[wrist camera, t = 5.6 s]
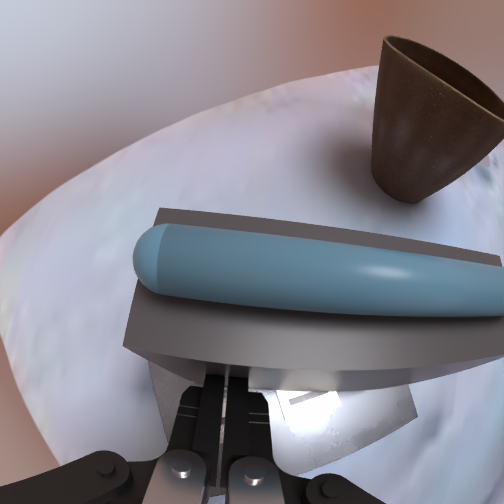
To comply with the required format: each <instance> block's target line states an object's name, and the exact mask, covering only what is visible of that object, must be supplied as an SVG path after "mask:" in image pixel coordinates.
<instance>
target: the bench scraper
mask: <svg viewBox="0 0 504 504" xmlns="http://www.w3.org/2000/svg"><path fill="white" fill-rule="evenodd" d="M133 266H134V270H135V273H136V275H137V277H138V281H137V285H136V289H135V293H134V297H133V301H132V305H131V309H130V314H129V318H128V323H127V327H126V332H125V337H124V342H123V346H124V347H125V348H127V349H129V350H131V351H132V352H134V353H136V354H138V355H140V356H141V357H143V358H145V359H147V360H149V361H151V362H152V363H154V364H156V365H158V366H160V367H162V368H164V369H166V370H168V371H170V372H172V373H174V374H176V375H178V376H180V377H182V378H184V379H187V380H189V381H194V382H200V383H204V380H205V375H206V374H210V375H219V376H225V386H228V378H229V377H238V378H248V388H253V389H266V390H284V391H359V390H376V389H384V388H390V387H396V386H401V385H406V384H411V383H416V382H420V381H425V380H429V379H433V378H437V377H441V376H445V375H449V374H453V373H456V372H460V371H463V370H466V369H470V368H473V367H476V366H479V365H482V364H485V363H488V362H491V361H494V360H497V359H499V358H502V357H504V267H502V263H501V260H500V256H497V255H493V254H488V253H483V252H478V251H473V250H467V249H462V248H457V247H452V246H446V245H441V244H435V243H430V242H424V241H418V240H412V239H406V238H400V237H394V236H388V235H382V234H375V233H369V232H362V231H356V230H349V229H342V228H335V227H328V226H321V225H313V224H306V223H298V222H290V221H282V220H274V219H266V218H258V217H249V216H240V215H231V214H221V213H212V212H202V211H191V210H181V209H169V208H159V210H158V213H157V216H156V219H155V222H154V225H153V227H152V228H150V229H148V230H147V231H146V232H145V233H143V235H142V236H141V237H140V238H139V240H138V241H137V243H136V246H135V248H134V252H133Z"/></svg>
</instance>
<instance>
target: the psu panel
mask: <svg viewBox="0 0 504 504" xmlns="http://www.w3.org/2000/svg"><path fill="white" fill-rule="evenodd" d="M148 362H149V367H150V372H151V377H152V381H153V386H154V390H155V394H156V399H157V403H158V407H159V411H160V415H161V418H162V422H163V426H164V429H165V433H166V436H167V440H168V443H169V441H170V437H171V433H172V429H173V425H174V422H175V418H176V415H177V410H178V406H179V403H180V399H181V395H182V393H183V392H184V391H185V390H186V389H187V388H188V387H189V386H190V385H191V386H198V387H203V385H204V383H200V382H194V381H189V380H187V379H184V378H182V377H180V376H178V375H176V374H174V373H172V372H170V371H168V370H166V369H164V368H162V367H160V366H158V365H156V364H154V363H152V362H151V361H149V360H148ZM227 388H228V386H225V387H224V399H223V411H222V422H221V433H220V445H219V456H218V468H217V480H216V487H211V486H210V489H209V497H212V496H218V495H224V494H226V488H222V487H220V476H221V462H222V449H223V436H224V423H225V411H226V399H227ZM248 390H249V392H262V394H263V395H264V397H265V398H266V400H267V401H268V405H269V416H270V427H271V439H272V450H273V458H274V461H275V463H276V465H277V466H278V467H279V468H280V469H281V470H282V471H284V472H286V473H288V474H290V475H293V476H296V475H299V474H302V473H305V472H307V471H310V470H313V469H316V468H318V467H321V466H323V465H326V464H328V463H331V462H333V461H335V460H338V459H340V458H342V457H345V456H347V455H349V454H351V453H353V452H355V451H357V450H360V449H362V448H364V447H366V446H368V445H370V444H372V443H373V442H375V441H377V440H379V439H381V438H383V437H385V436H386V435H388V434H390V433H392V432H394V431H395V430H397V429H399V428H400V427H402V426H404V425H405V424H407V423H409V422H410V421H412V420H413V419H415V418H417V417H418V415H417V412H416V408H415V405H414V401H413V398H412V395H411V392H410V389H409V385H408V384H406V385H401V386H396V387H390V388H384V389H376V390H359V391H284V390H266V389H253V388H248Z"/></svg>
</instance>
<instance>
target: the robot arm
mask: <svg viewBox="0 0 504 504" xmlns="http://www.w3.org/2000/svg"><path fill="white" fill-rule="evenodd" d="M224 387H225V376H219V375H210V374H206V375H205V380H204V385H203V387H198V386H191V385H190V386H189V387H188V388H187V389H186V390H185V391H184V392H183V393H182V395H181V399H180V403H179V406H178V410H177V415H176V418H175V422H174V425H173V429H172V433H171V437H170V441H169V445H168V448H167V450H166V451H165V453H164V454H163V455H161V456H160V457H158V458H157V459H154V460H151V461H143V462H126V460H125V459H124V458H123V457H122V456H120V455H119V454H117V453H115V452H112V451H96V452H94V453H91V454H89V455H87V456H85V457H82V458H80V459H78V460H75V461H73V462H70V463H68V464H65V465H63V466H60V467H58V468H56V469H53V470H50V471H47V472H44V473H42V474H39V475H36V476H33V477H30V478H27V479H24V480H21V481H18V482H15V483H11V484H8V485H4V486H1V487H0V504H207V503H208V499H209V489H210V486H211V487H216V480H217V468H218V456H219V445H220V433H221V422H222V411H223V399H224ZM220 487H222V488H226V495H225V504H386V503H384V502H382V501H381V500H379V499H377V498H376V497H374V496H372V495H371V494H369V493H367V492H366V491H364V490H363V489H361V488H359V487H358V486H356V485H355V484H353V483H352V482H350V481H349V480H347V479H346V478H344V477H342V476H340V475H337V474H332V473H326V474H321V475H318V476H316V477H314V478H313V479H307V478H302V477H297V476H293V475H290V474H288V473H286V472H284V471H282V470H281V469H280V468H279V467H278V466H277V465H276V463H275V461H274V458H273V450H272V439H271V427H270V416H269V405H268V401H267V400H266V398H265V397H264V395H263V394H262V392H249V390H248V378H238V377H229V378H228V388H227V399H226V411H225V423H224V436H223V449H222V462H221V476H220Z"/></svg>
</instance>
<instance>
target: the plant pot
mask: <svg viewBox="0 0 504 504" xmlns="http://www.w3.org/2000/svg"><path fill="white" fill-rule="evenodd" d="M503 139H504V102H503V101H502V100H501V99H500V98H499V97H498V96H497V95H496V94H495V93H494V92H493V91H492V90H491V89H490V88H489V87H488V86H487V85H486V84H484V83H483V82H482V81H481V80H480V79H479V78H477V77H476V76H475V75H473V74H472V73H471V72H469V71H468V70H466V69H465V68H464V67H462V66H461V65H459V64H458V63H456V62H454V61H453V60H451V59H450V58H448V57H446V56H444V55H443V54H441V53H439V52H437V51H435V50H433V49H431V48H429V47H427V46H425V45H422V44H420V43H417V42H415V41H412V40H409V39H406V38H403V37H399V36H394V35H386V36H384V39H383V45H382V52H381V59H380V65H379V72H378V79H377V88H376V97H375V107H374V119H373V133H372V174H373V177H374V179H375V180H376V182H377V183H378V185H379V186H380V187H381V188H382V189H383V190H384V191H385V192H386V193H388V194H389V195H391V196H392V197H394V198H395V199H397V200H400V201H402V202H407V203H414V202H418V201H420V200H422V199H424V198H426V197H428V196H430V195H432V194H433V193H435V192H437V191H439V190H441V189H442V188H444V187H445V186H447V185H449V184H450V183H452V182H453V181H455V180H456V179H458V178H459V177H461V176H462V175H463V174H465V173H466V172H467V171H469V170H470V169H471V168H472V167H474V166H475V165H476V164H477V163H478V162H480V161H481V160H482V159H483V158H484V157H485V156H487V155H488V154H489V153H490V152H491V151H492V150H493V149H494V148H495V147H496V146H497V145H498V144H499V143H500V142H501V141H502V140H503Z"/></svg>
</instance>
